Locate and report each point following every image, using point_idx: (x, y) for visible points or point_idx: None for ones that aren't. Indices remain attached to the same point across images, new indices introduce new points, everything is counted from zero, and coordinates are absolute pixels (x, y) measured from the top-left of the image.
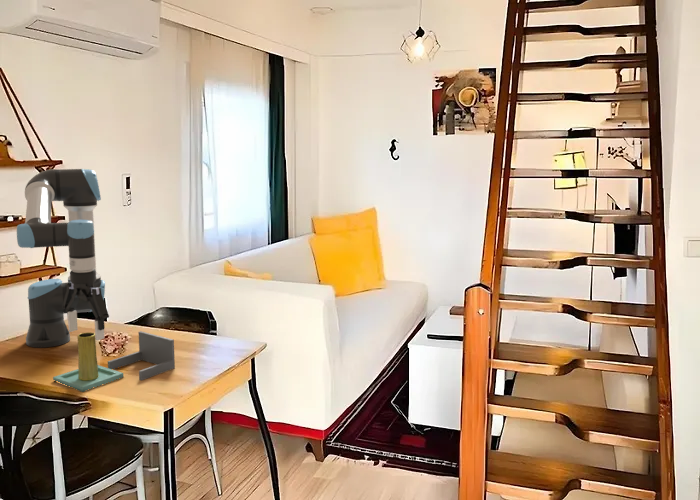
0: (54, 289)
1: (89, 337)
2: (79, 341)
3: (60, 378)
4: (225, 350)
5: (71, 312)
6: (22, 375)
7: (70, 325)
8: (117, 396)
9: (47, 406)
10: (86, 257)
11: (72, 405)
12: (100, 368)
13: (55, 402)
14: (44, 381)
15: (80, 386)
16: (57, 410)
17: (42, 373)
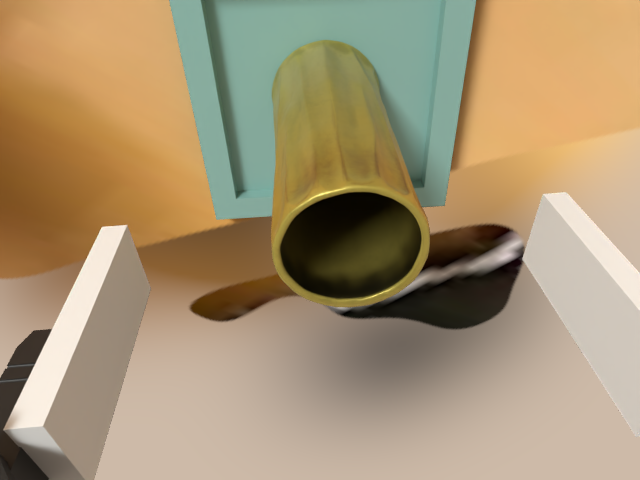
0: None
1: (424, 259)
2: (343, 275)
3: (261, 209)
4: None
5: (80, 463)
6: (41, 246)
7: (134, 333)
8: (623, 131)
9: (435, 316)
10: None
11: (507, 273)
12: None
13: (430, 291)
14: (188, 226)
15: (429, 206)
16: (491, 313)
17: (66, 186)
